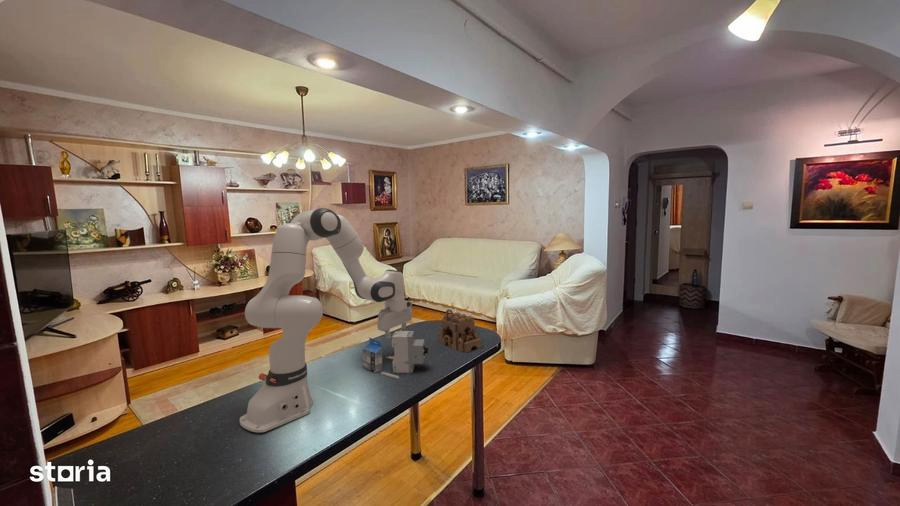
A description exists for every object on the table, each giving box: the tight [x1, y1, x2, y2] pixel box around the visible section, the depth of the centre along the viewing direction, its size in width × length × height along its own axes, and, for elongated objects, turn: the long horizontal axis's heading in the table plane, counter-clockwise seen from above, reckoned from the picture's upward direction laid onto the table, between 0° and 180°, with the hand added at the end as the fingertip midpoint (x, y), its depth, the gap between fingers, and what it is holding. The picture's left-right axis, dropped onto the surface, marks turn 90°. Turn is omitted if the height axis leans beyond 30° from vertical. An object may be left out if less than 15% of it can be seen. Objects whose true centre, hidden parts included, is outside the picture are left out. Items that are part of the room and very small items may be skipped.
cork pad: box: [385, 355, 395, 361], centre depth 162 cm, size 7×10×1 cm
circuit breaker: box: [391, 330, 429, 374], centre depth 148 cm, size 8×14×15 cm, turn 89°
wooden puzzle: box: [437, 308, 482, 353], centre depth 176 cm, size 22×15×19 cm, turn 40°
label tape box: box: [362, 337, 383, 374], centre depth 149 cm, size 9×4×12 cm, turn 48°
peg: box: [380, 371, 400, 380], centre depth 142 cm, size 1×9×1 cm, turn 58°
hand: (395, 335), depth 161 cm, fingers open, 8 cm apart
